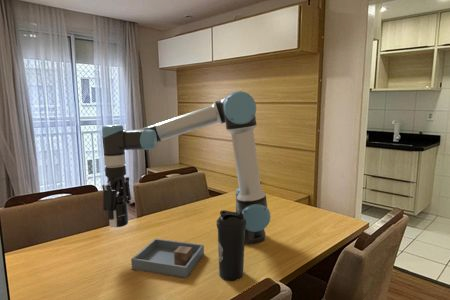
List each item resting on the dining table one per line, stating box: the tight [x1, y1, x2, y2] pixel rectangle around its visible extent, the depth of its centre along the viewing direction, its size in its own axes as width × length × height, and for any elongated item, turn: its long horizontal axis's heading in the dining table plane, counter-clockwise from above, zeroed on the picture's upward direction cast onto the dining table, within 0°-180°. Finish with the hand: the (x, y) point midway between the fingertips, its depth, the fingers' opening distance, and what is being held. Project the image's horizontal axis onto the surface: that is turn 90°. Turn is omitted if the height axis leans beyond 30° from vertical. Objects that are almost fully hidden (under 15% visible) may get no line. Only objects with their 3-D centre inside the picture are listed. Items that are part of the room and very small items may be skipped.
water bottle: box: [216, 209, 246, 282], centre depth 104 cm, size 10×10×23 cm
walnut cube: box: [174, 246, 192, 266], centre depth 113 cm, size 5×5×5 cm
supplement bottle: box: [114, 192, 129, 228], centre depth 117 cm, size 7×7×12 cm
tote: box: [130, 238, 205, 279], centre depth 114 cm, size 22×18×4 cm
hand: (119, 222), depth 117 cm, fingers closed on supplement bottle, 7 cm apart
